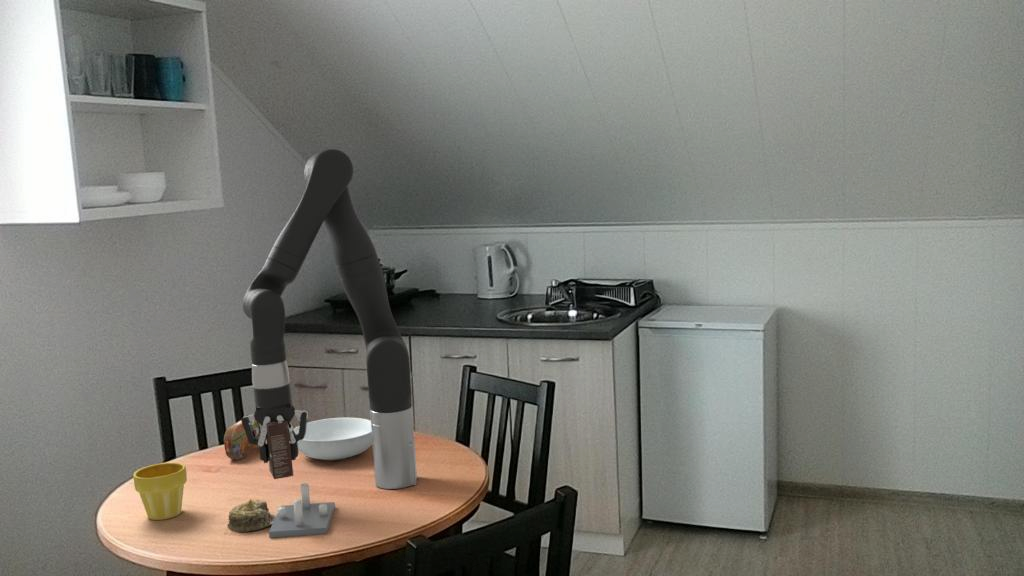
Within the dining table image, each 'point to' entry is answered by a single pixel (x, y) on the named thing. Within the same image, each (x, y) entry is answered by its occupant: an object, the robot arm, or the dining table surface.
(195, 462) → the dining table surface
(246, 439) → the tin
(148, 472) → the plant pot
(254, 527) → the sea snail shell
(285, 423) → the box
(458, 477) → the dining table surface
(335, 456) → the serving bowl
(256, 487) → the dining table surface
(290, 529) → the pin tray
